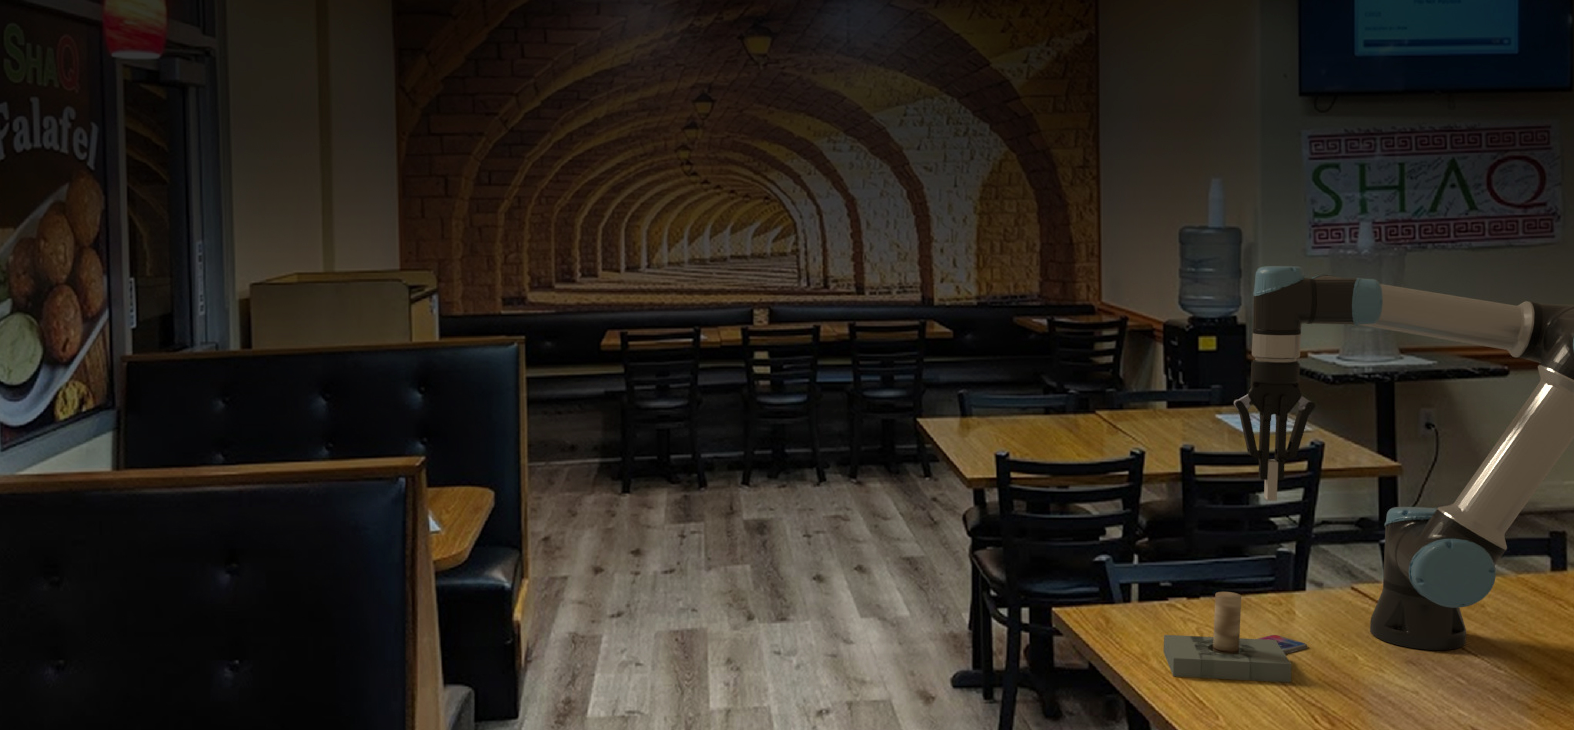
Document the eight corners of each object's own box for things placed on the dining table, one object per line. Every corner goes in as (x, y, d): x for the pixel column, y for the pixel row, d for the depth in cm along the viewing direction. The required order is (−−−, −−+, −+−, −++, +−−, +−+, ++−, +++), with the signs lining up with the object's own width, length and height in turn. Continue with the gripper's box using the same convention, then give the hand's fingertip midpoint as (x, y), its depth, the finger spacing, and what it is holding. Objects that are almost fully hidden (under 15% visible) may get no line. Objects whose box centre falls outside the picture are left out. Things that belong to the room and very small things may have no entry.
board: (1274, 657, 213) (1275, 639, 213) (1290, 682, 202) (1291, 663, 201) (1163, 651, 216) (1164, 634, 216) (1173, 676, 204) (1173, 658, 204)
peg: (1236, 663, 211) (1239, 592, 209) (1240, 671, 207) (1243, 599, 205) (1210, 661, 211) (1213, 590, 210) (1213, 669, 207) (1217, 597, 206)
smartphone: (1216, 648, 217) (1273, 633, 224) (1216, 653, 217) (1273, 638, 225) (1252, 659, 210) (1310, 644, 218) (1252, 665, 210) (1310, 649, 218)
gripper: (1311, 357, 214) (1305, 495, 216) (1230, 356, 216) (1225, 493, 218) (1322, 362, 206) (1316, 504, 209) (1238, 361, 209) (1233, 502, 211)
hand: (1270, 498), depth 214 cm, fingers closed
